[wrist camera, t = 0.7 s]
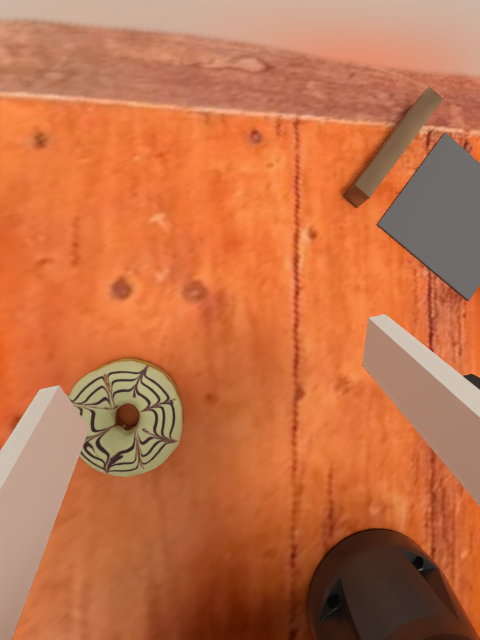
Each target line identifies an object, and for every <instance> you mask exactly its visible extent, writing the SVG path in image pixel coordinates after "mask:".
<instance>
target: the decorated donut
mask: <svg viewBox="0 0 480 640" xmlns="http://www.w3.org/2000/svg"><path fill="white" fill-rule="evenodd" d="M68 398H69V400H70V401H71V402H72V404H73V405H74V407H75V408H76V410H77V411H78V412H79V414H80V415H81V417H82V418H83V420H84V421H85V422H86V424H87V425H88V427H89V430H88V433H87V436H86V439H85V441H84V444H83V447H82V449H81V452H80V455H79V457H81V458H82V459H83V461H84V462H86V463H87V464H88V465H89V466H91V467H92V468H94V469H96V470H97V471H100V472H102V473H106V474H108V475H113V476H119V477H124V476H125V477H126V476H134V475H139V474H143V473H146V472H148V471H151V470H153V469H155V468H156V467H158V466H160V465H161V464H162V463H163V462H164V461H165V460H166V459H167V458H168V457H169V456H170V455H171V454H172V452H173V451H174V450H175V449H176V447H177V446H178V444H179V442H180V438H181V433H182V429H183V404H182V400H181V397H180V395H179V393H178V390H177V388H176V386H175V383H174V382H173V381H172V379H171V378H170V377H169V376H168V374H167V373H165V372H164V371H163V370H162V369H160V368H158V367H157V366H155V365H153V364H151V363H148V362H146V361H143V360H139V359H133V358H126V359H121V360H117V361H114V362H111V363H108V364H106V365H103V366H100V367H99V368H98V369H96V370H94V371H92V372H90V373H88V374H87V375H86V376H84V377H83V378H82V379H81V380H79V381H78V382H77V384H76V385H75V386H74V388H73V389H72V391H71V393H70V395H69V396H68ZM124 404H131V405H132V404H133V405H134V406H135V407H136V408H137V410H138V411H139V421H138V423H137V425H135V426H127V425H126V424H123V423H122V422H121V420H120V419H119V416H118V409H119V408H120V407H121V406H123V405H124Z"/></svg>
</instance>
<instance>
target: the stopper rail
mask: <svg viewBox="0 0 480 640" xmlns="http://www.w3.org/2000/svg"><path fill="white" fill-rule="evenodd" d="M442 100H443V98H442V97H440V96H439V95H438V94H437V93H436V92H435V91H434V90H433V89H432V88H431V87H428V89H427V90H426V91H425V92H424V93H423V94H422V95H421V96H420V97H419V98H418V99H417V101H416V102H415V103H414V104H413V105H412V106H411V108H410V109H409V110H408V112H407V113H406V114H405V115H404V117H403V118H402V119H401V121H400V122H399V123H398V125H397V126H396V127H395V129H394V130H393V131H392V133H391V134H390V135H389V137H388V138H387V139H386V141H385V142H384V143H383V145H382V146H381V147H380V149H379V150H378V151H377V153H376V154H375V155H374V156H373V158H372V159H371V160H370V162H369V163H368V164H367V166H366V167H365V168H364V170H363V171H362V172H361V174H360V175H359V176H358V178H357V179H356V180H355V182H354V183H353V184H352V186H351V187H350V188H349V190H348V191H347V192H346V194H345V195H344V196H343V197H344V198H345V199H347V200H348V201H349V202H350V203H351V204H353V205H354V206H355V207H356V208H357V207H359V206H360V205H361V204H362V203H364V202H365V201H366V200H367V199H369V198H370V197H371V195H372V194H373V192H374V191H375V190H376V188H377V187H378V186H379V184H380V183H381V182H382V180H383V179H384V178H385V176H386V175H387V174H388V172H389V171H390V170H391V168H392V167H393V166H394V164H395V163H396V162H397V160H398V159H399V158H400V156H401V155H402V154H403V152H404V151H405V150H406V148H407V147H408V145H409V144H410V143H411V141H412V140H413V139H414V137H415V136H416V135H417V133H418V132H419V131H420V129H421V128H422V127H423V125H424V124H425V123H426V121H427V120H428V119H429V117H430V116H431V115H432V113H433V112H434V111H435V109H436V108H437V107H438V105H439V104H440V103H441V101H442Z"/></svg>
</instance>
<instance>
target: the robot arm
mask: <svg viewBox="0 0 480 640" xmlns="http://www.w3.org/2000/svg"><path fill="white" fill-rule="evenodd" d="M362 366H363V367H364V368H365V369H366V371H367V372H368V373H369V374H370V375H371V377H372V378H373V379H374V380H375V381H376V383H377V384H378V385H379V386H380V387H381V389H382V390H383V391H384V392H385V393H386V395H387V396H388V397H389V398H390V399H391V401H392V402H393V403H394V404H395V405H396V407H397V408H398V409H399V410H400V411H401V413H402V414H403V415H404V416H405V417H406V419H407V420H408V421H409V422H410V423H411V425H412V426H413V427H414V428H415V429H416V431H417V432H418V433H419V434H420V435H421V437H422V438H423V439H424V440H425V441H426V443H427V444H428V445H429V446H430V447H431V449H432V450H433V451H434V452H435V453H436V455H437V456H438V457H439V458H440V459H441V461H442V462H443V463H444V464H445V465H446V467H447V468H448V469H449V470H450V471H451V473H452V474H453V475H454V476H455V477H456V479H457V480H458V481H459V482H460V483H461V485H462V486H463V487H464V488H465V489H466V491H467V492H468V493H469V494H470V495H471V497H472V498H473V499H474V500H475V501H476V502H477V504H478V505H479V506H480V378H479V377H477V376H475V375H473V374H469V375H465V376H462V375H461V374H459V373H458V372H457V371H456V370H454V369H453V368H452V367H451V366H449V365H448V364H447V363H446V362H444V361H443V360H442V359H441V358H439V357H438V356H437V355H436V354H434V353H433V352H432V351H431V350H429V349H428V348H427V347H426V346H424V345H423V344H422V343H421V342H419V341H418V340H417V339H416V338H414V337H413V336H412V335H411V334H409V333H408V332H407V331H406V330H404V329H403V328H402V327H401V326H399V325H398V324H397V323H396V322H394V321H393V320H392V319H391V318H389V317H388V316H387V315H386V314H384V315H379V316H375V317H370V318H368V325H367V333H366V341H365V348H364V356H363V364H362ZM88 430H89V427H88V425H87V424H86V422H85V421H84V420H83V418H82V417H81V415H80V414H79V412H78V411H77V410H76V408H75V407H74V405H73V404H72V402H71V401H70V400H69V398H68V397H67V395H66V394H65V393H64V391H63V390H62V388H61V387H60V385H58V386H53V387H49V388H44V389H40V390H39V392H38V393H37V395H36V396H35V398H34V399H33V401H32V402H31V404H30V406H29V407H28V409H27V410H26V412H25V413H24V415H23V417H22V418H21V420H20V421H19V423H18V424H17V426H16V428H15V429H14V431H13V432H12V434H11V435H10V437H9V438H8V440H7V442H6V443H5V445H4V446H3V448H2V449H1V451H0V640H12V638H13V635H14V633H15V630H16V627H17V624H18V622H19V619H20V616H21V614H22V611H23V608H24V605H25V603H26V600H27V597H28V594H29V592H30V589H31V586H32V583H33V581H34V578H35V575H36V573H37V570H38V567H39V564H40V562H41V559H42V556H43V553H44V551H45V548H46V545H47V542H48V540H49V537H50V534H51V532H52V529H53V526H54V523H55V521H56V518H57V515H58V512H59V510H60V507H61V504H62V501H63V499H64V496H65V493H66V491H67V488H68V485H69V482H70V480H71V477H72V474H73V471H74V469H75V466H76V463H77V460H78V458H79V455H80V452H81V449H82V447H83V444H84V441H85V439H86V436H87V433H88ZM308 620H309V625H310V629H311V632H312V635H313V638H314V640H480V638H479V636H478V635H477V633H476V631H475V629H474V627H473V626H472V624H471V622H470V620H469V618H468V617H467V615H466V613H465V611H464V609H463V607H462V606H461V604H460V602H459V600H458V598H457V597H456V595H455V593H454V591H453V589H452V588H451V586H450V584H449V582H448V580H447V579H446V577H445V575H444V574H443V572H442V571H441V570H440V568H439V567H438V566H437V564H436V563H435V562H434V561H433V560H432V559H431V558H430V557H429V556H428V555H427V554H426V552H425V551H424V550H423V549H422V548H421V547H420V546H419V545H418V544H417V543H415V542H414V541H413V540H411V539H410V538H408V537H406V536H405V535H402V534H400V533H397V532H394V531H389V530H369V531H364V532H361V533H358V534H355V535H353V536H351V537H349V538H347V539H345V540H344V541H342V542H341V543H339V544H338V545H337V546H336V547H335V548H333V549H332V550H331V551H330V552H329V554H328V555H327V556H326V557H325V558H324V560H323V561H322V563H321V564H320V566H319V567H318V569H317V571H316V573H315V575H314V578H313V580H312V583H311V587H310V591H309V596H308Z"/></svg>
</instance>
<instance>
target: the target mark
mask: <svg viewBox="0 0 480 640" xmlns="http://www.w3.org/2000/svg"><path fill="white" fill-rule="evenodd" d="M377 225H378V226H379V227H380V228H381V229H382V230H384V231H385V232H386V233H387V234H388V235H390V236H391V237H392V238H393V239H394V240H396V241H397V242H398V243H399V244H400V245H402V246H403V247H404V248H405V249H406V250H407V251H409V252H410V253H411V254H412V255H413V256H415V257H416V258H417V259H418V260H419V261H421V262H422V263H423V264H424V265H425V266H427V267H428V268H429V269H430V270H431V271H433V272H434V273H435V274H436V275H437V276H438V277H440V278H441V279H442V280H443V281H444V282H446V283H447V284H448V285H449V286H450V287H452V288H453V289H454V290H455V291H456V292H458V293H459V294H460V295H461V296H462V297H464V298H465V299H466V300H467V301H469V300H470V298H471V297H472V295H473V294H474V292H475V291H476V289H477V288H478V287H479V285H480V163H479V162H478V161H477V160H476V159H474V158H473V157H472V156H471V155H470V154H469V153H468V152H467V151H465V150H464V149H463V148H462V147H461V146H460V145H459V144H458V143H457V142H455V141H454V140H453V139H452V138H451V137H450V136H449V135H448V134H446V133H444V134H443V135H442V137H441V138H440V139H439V141H438V142H437V144H436V145H435V146H434V148H433V149H432V150H431V152H430V153H429V154H428V156H427V157H426V159H425V160H424V161H423V163H422V164H421V165H420V167H419V168H418V169H417V171H416V172H415V174H414V175H413V176H412V178H411V179H410V180H409V182H408V183H407V184H406V186H405V187H404V189H403V190H402V191H401V193H400V194H399V195H398V197H397V198H396V199H395V201H394V202H393V204H392V205H391V206H390V208H389V209H388V210H387V212H386V213H385V214H384V216H383V217H382V219H381V220H380V221H379V223H378V224H377Z"/></svg>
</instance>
